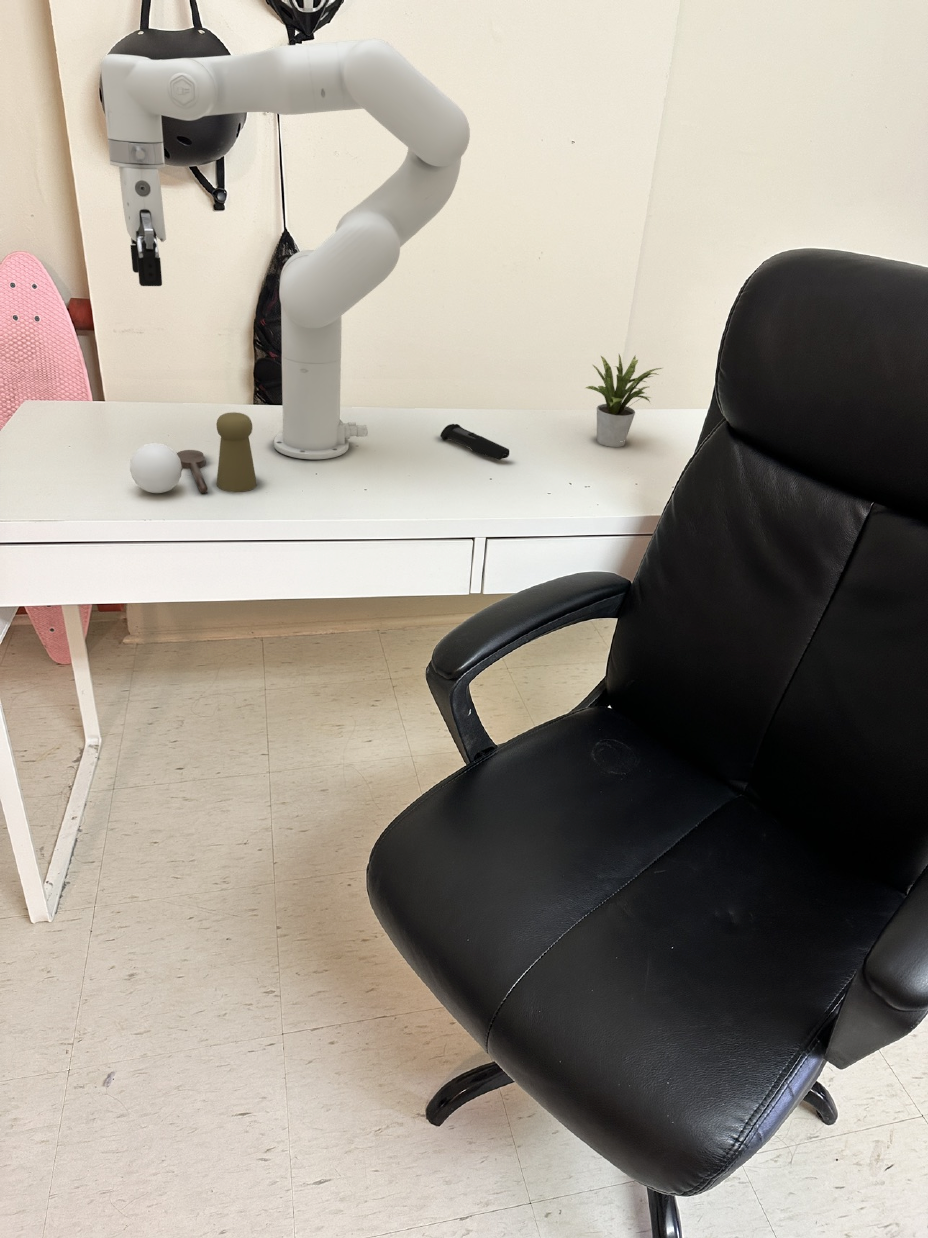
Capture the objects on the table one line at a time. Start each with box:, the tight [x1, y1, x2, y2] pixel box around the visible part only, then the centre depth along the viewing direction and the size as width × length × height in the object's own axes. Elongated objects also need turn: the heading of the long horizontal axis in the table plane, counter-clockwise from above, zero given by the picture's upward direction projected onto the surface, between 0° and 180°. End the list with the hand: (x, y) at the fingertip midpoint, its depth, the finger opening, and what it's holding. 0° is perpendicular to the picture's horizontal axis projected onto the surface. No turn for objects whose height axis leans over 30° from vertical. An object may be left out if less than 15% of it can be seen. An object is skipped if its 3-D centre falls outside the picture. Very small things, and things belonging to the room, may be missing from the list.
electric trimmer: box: [439, 423, 510, 461], centre depth 166 cm, size 4×16×3 cm, turn 42°
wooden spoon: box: [176, 449, 209, 494], centre depth 147 cm, size 16×4×1 cm, turn 22°
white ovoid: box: [129, 442, 184, 494], centre depth 140 cm, size 10×7×7 cm
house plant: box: [585, 354, 663, 448], centre depth 171 cm, size 14×14×16 cm
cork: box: [215, 411, 258, 493], centre depth 142 cm, size 6×6×11 cm
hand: (147, 278), depth 144 cm, fingers open, 9 cm apart
